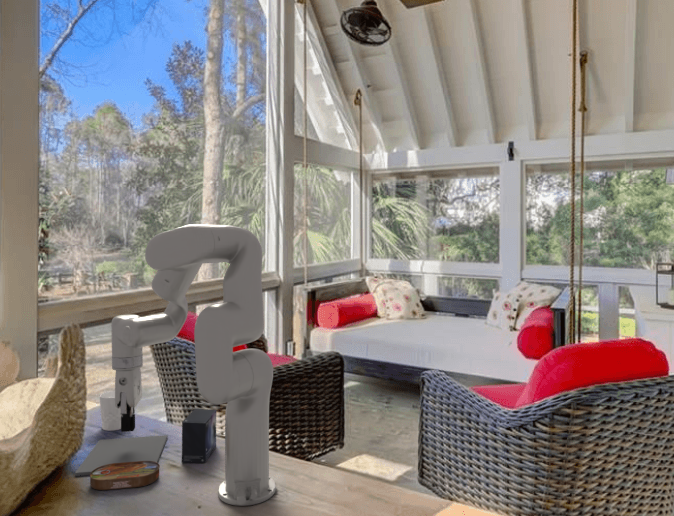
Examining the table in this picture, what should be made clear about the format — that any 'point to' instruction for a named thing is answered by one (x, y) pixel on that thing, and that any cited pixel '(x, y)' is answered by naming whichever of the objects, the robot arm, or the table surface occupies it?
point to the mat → (122, 452)
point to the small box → (198, 436)
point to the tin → (124, 475)
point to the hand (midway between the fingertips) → (128, 430)
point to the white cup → (109, 412)
